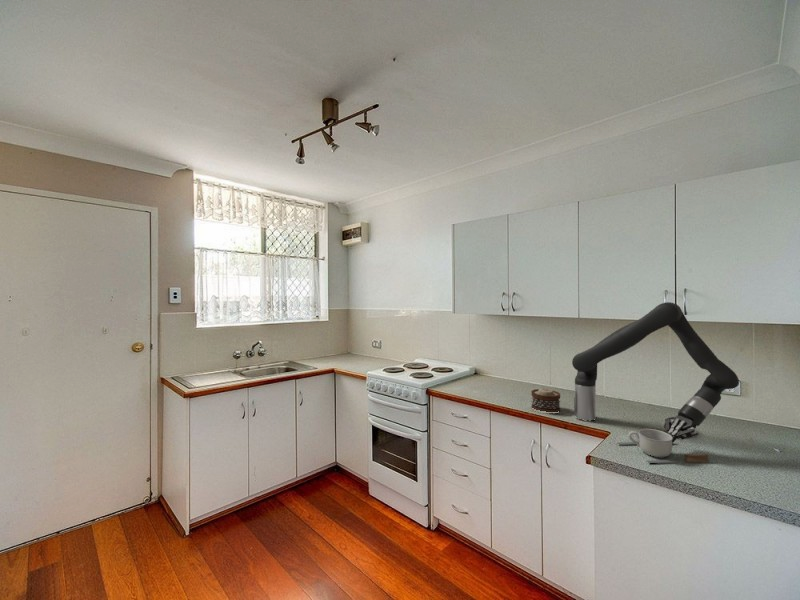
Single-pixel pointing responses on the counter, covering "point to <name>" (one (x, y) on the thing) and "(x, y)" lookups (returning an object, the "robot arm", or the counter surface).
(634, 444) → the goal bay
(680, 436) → the robot arm
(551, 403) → the chocolate cake
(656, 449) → the teacup
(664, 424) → the perforated stone tool
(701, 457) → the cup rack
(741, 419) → the counter surface
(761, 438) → the counter surface
